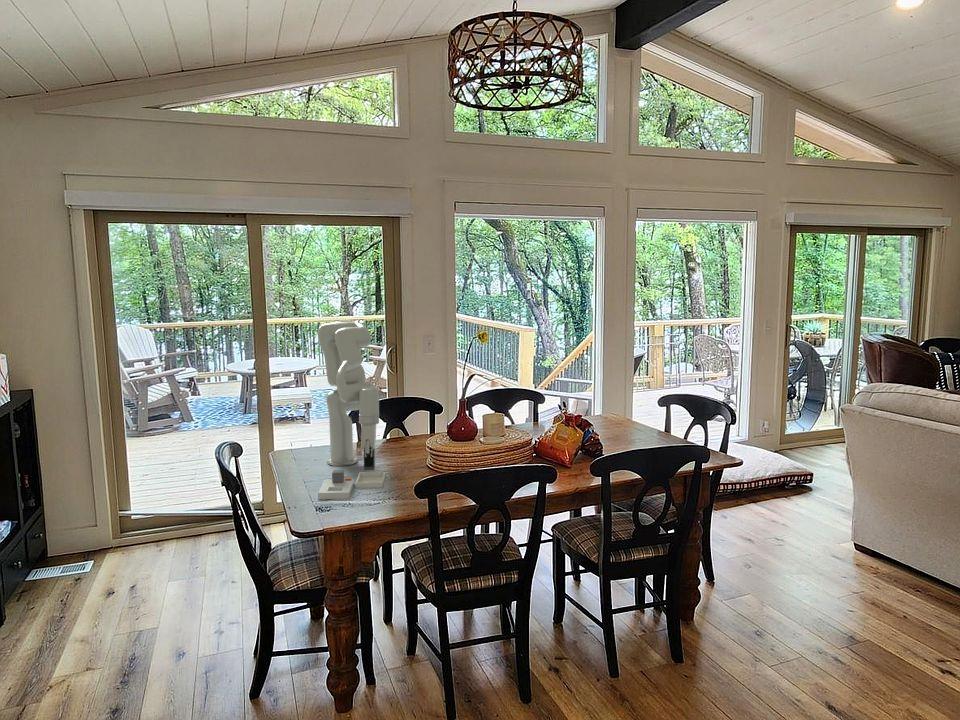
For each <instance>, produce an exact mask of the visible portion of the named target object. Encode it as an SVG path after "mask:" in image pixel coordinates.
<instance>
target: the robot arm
mask: <svg viewBox="0 0 960 720" xmlns="http://www.w3.org/2000/svg"><path fill="white" fill-rule="evenodd" d="M371 338H372V337H371V334H370V330H368V328H367V327H366V326H365V325H363V324H361V323H360V322H357V321H340V322H339V321H337V322H336V321H334V322H325V323H322V324H321V325H320V326H319V327H318V330H317V339H318V342H319V343H318V344H319V346H320V348H321V350H322V353H323V355H324V363H325V369H326V377H327V382H328V384H329V385H330V386H331V387H336V389H334V390H332V391H330V392H329V393H327V395H326V399H325V400H326V407H327V411H328V418H329V444H330V447H329V449H330V457H329V458H327V459H326V463H327V464H328V465H330V466H333V467H345V466H346V467H347V466H351V465H354V464H355V463H357V461H358V457H356V456H354V441H353V440H354V438H353V435H354V434H353V421H352V418H351V417H350V416H349V414H347V413H348V412H351V411H358V424H360V425H361V431H360V435H361V436H360V445H361V446H360V449H361V451H364V448H365V467H373V456H372V450H373V449H374V447H375V448H376V440H377V425H378V424H380V391H379V388H378V387H376V386H375V385H374V383H372V382H368V381H367V378H366V373H365V369H364V366H362V363H363V362H364V361H363V359H364V358H363V355H362V352H361V349H360V348H367V347H369V346H370V344H371V342H372V341H371V340H372V339H371ZM370 448H371V449H370ZM370 451H371V452H370Z"/></svg>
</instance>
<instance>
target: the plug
mask: <svg viewBox="0 0 960 720" xmlns="http://www.w3.org/2000/svg"><path fill="white" fill-rule="evenodd" d="M370 449H371V448H370ZM370 452H371V451H370ZM372 456H373V467H365V448H364V449H363V471H375V470H376V446H375V447H374V449H373V450H372Z"/></svg>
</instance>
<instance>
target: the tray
mask: <svg viewBox="0 0 960 720" xmlns="http://www.w3.org/2000/svg"><path fill="white" fill-rule="evenodd" d="M356 477H357V478H356V480H355V482H354V486H355V489H357V488H358V489H359V488H365V489H366V488H383V486H384V483H385V478H386V471H359V472H358V475H357V476H356Z"/></svg>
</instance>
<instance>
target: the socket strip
mask: <svg viewBox="0 0 960 720" xmlns="http://www.w3.org/2000/svg"><path fill="white" fill-rule="evenodd" d="M354 486H355V478H353V477H345V470H344V469H341V470H339V469H337V470H336V469H335V470H332V472H331V478H327V479H324V480H323V483H322V484H321V487H320V489H319V490H318V493H317V498H318V500H332V499H333V500H335V499H336V500H337V499H338V500H341V499H342V500H344V499H345V500H346V499H350V497H351V495H352V492H353V489H354ZM346 501H348V500H346Z"/></svg>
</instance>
